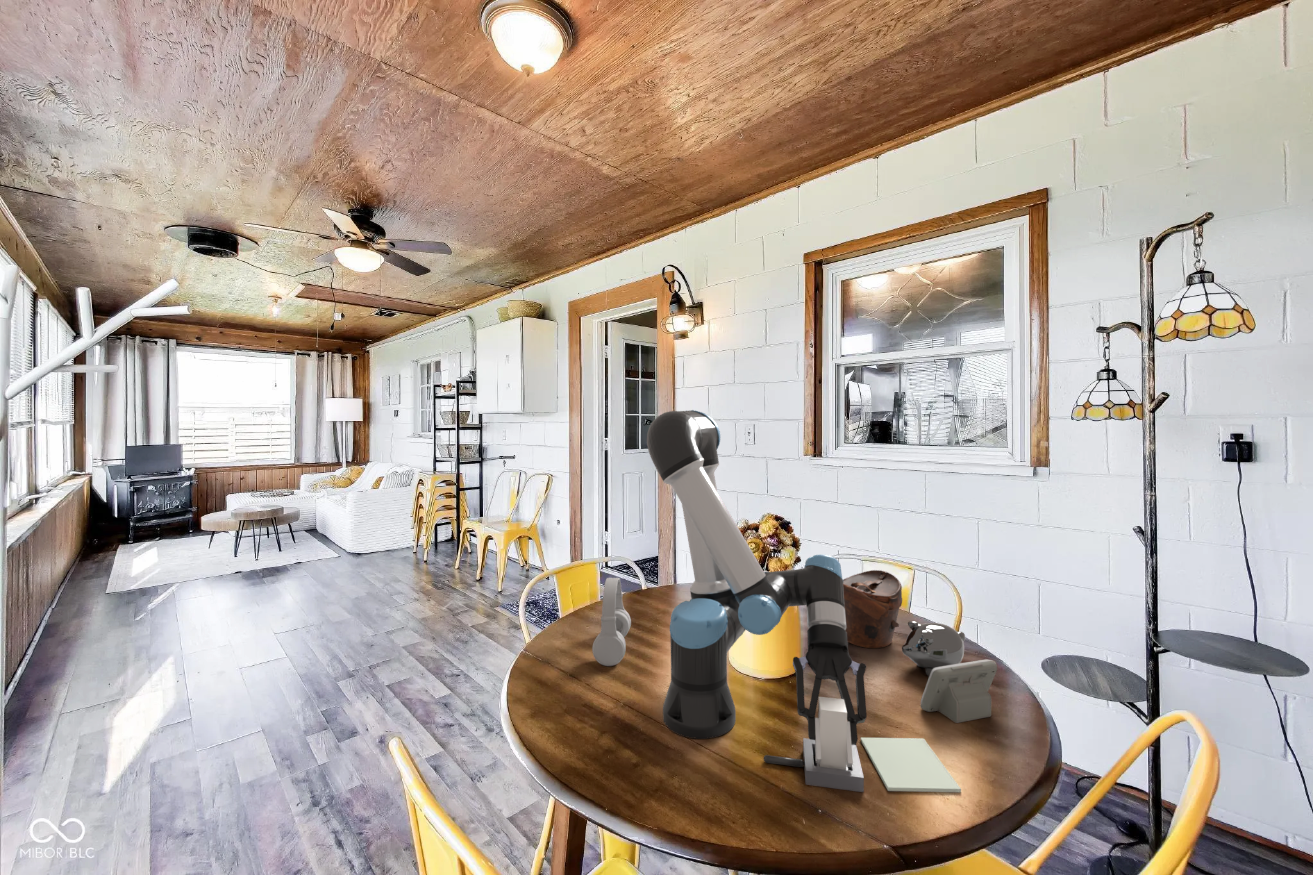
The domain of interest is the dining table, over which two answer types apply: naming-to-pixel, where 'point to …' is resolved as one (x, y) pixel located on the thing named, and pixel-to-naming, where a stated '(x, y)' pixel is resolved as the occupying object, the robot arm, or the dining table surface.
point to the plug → (833, 733)
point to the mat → (909, 765)
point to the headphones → (612, 626)
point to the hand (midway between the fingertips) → (834, 762)
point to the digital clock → (960, 690)
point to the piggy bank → (933, 645)
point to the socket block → (825, 769)
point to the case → (871, 608)
